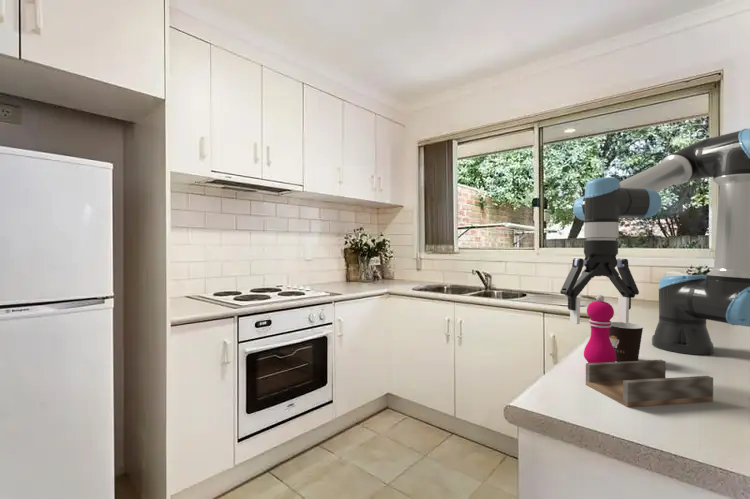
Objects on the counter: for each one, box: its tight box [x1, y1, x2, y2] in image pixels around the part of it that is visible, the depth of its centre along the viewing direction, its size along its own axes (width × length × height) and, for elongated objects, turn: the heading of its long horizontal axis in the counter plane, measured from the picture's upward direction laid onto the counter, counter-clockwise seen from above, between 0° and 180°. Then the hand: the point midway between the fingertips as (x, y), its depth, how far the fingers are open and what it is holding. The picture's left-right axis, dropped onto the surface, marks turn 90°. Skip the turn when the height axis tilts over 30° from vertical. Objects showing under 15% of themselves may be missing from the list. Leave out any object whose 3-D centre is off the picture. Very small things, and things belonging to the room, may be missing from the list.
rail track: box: [585, 359, 714, 408], centre depth 85 cm, size 20×12×5 cm, turn 98°
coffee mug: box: [609, 321, 644, 362], centre depth 109 cm, size 12×9×10 cm
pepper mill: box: [583, 294, 617, 363], centre depth 97 cm, size 7×7×20 cm
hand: (599, 322), depth 97 cm, fingers open, 13 cm apart
